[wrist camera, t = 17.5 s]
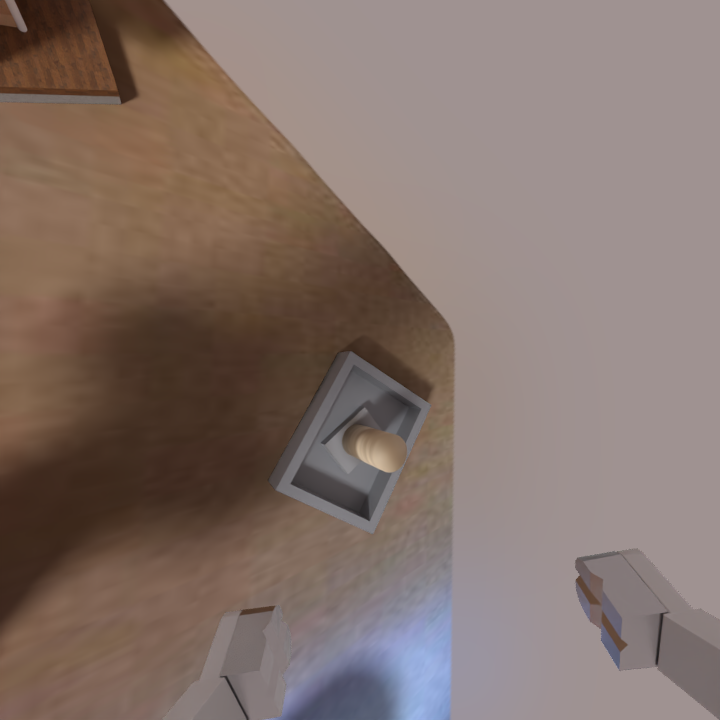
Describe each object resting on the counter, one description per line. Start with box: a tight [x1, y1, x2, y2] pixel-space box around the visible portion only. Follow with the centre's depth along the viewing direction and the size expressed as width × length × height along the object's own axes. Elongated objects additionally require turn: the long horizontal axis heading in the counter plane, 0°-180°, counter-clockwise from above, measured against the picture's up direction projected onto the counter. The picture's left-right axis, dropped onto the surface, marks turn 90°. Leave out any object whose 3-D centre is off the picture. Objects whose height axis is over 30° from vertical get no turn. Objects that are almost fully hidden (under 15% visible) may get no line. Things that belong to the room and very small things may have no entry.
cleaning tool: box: [321, 406, 407, 474], centre depth 43 cm, size 7×5×10 cm
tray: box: [268, 351, 431, 534], centre depth 46 cm, size 18×14×4 cm
